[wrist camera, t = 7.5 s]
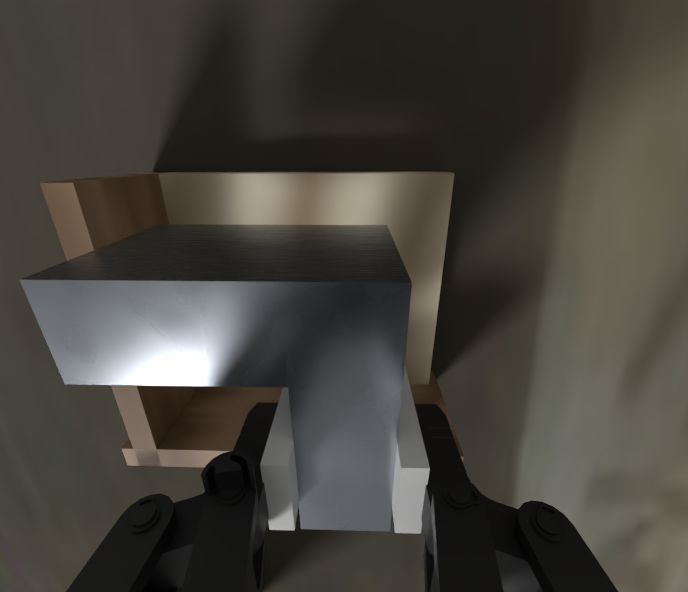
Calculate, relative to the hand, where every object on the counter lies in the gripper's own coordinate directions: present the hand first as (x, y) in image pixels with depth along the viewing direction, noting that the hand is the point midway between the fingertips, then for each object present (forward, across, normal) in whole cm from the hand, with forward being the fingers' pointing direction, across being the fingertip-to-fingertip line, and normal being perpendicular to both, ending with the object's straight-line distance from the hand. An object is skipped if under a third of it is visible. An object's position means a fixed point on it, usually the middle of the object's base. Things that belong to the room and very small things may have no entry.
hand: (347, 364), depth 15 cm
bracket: (0, +3, -2) cm, 4 cm away
